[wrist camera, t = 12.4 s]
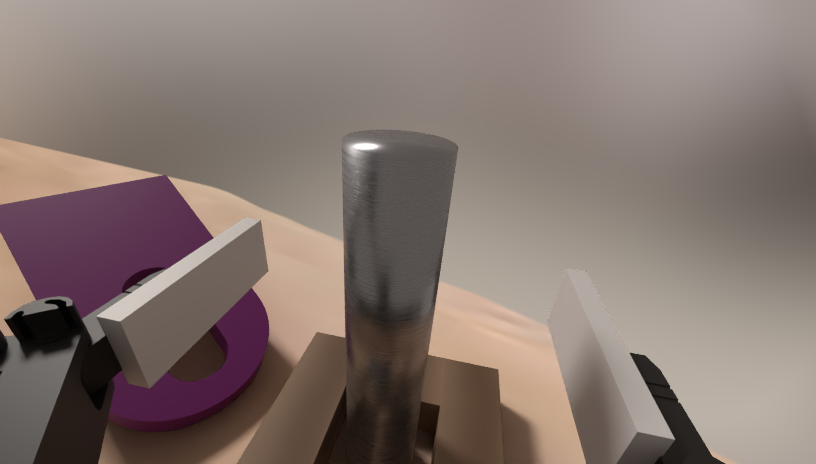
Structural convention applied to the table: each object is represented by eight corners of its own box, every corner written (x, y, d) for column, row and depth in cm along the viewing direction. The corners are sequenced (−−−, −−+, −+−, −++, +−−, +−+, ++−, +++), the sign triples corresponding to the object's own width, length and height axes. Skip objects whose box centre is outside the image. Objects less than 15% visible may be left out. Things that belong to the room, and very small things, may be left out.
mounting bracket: (277, 391, 27) (171, 240, 32) (297, 349, 22) (166, 174, 27) (142, 493, 21) (32, 283, 25) (122, 469, 15) (-13, 206, 20)
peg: (337, 489, 16) (321, 147, 8) (359, 424, 19) (363, 125, 11) (404, 508, 16) (454, 164, 8) (416, 438, 19) (461, 137, 11)
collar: (186, 599, 13) (169, 574, 12) (318, 358, 23) (316, 331, 22) (500, 707, 11) (518, 689, 10) (490, 395, 22) (498, 369, 20)
